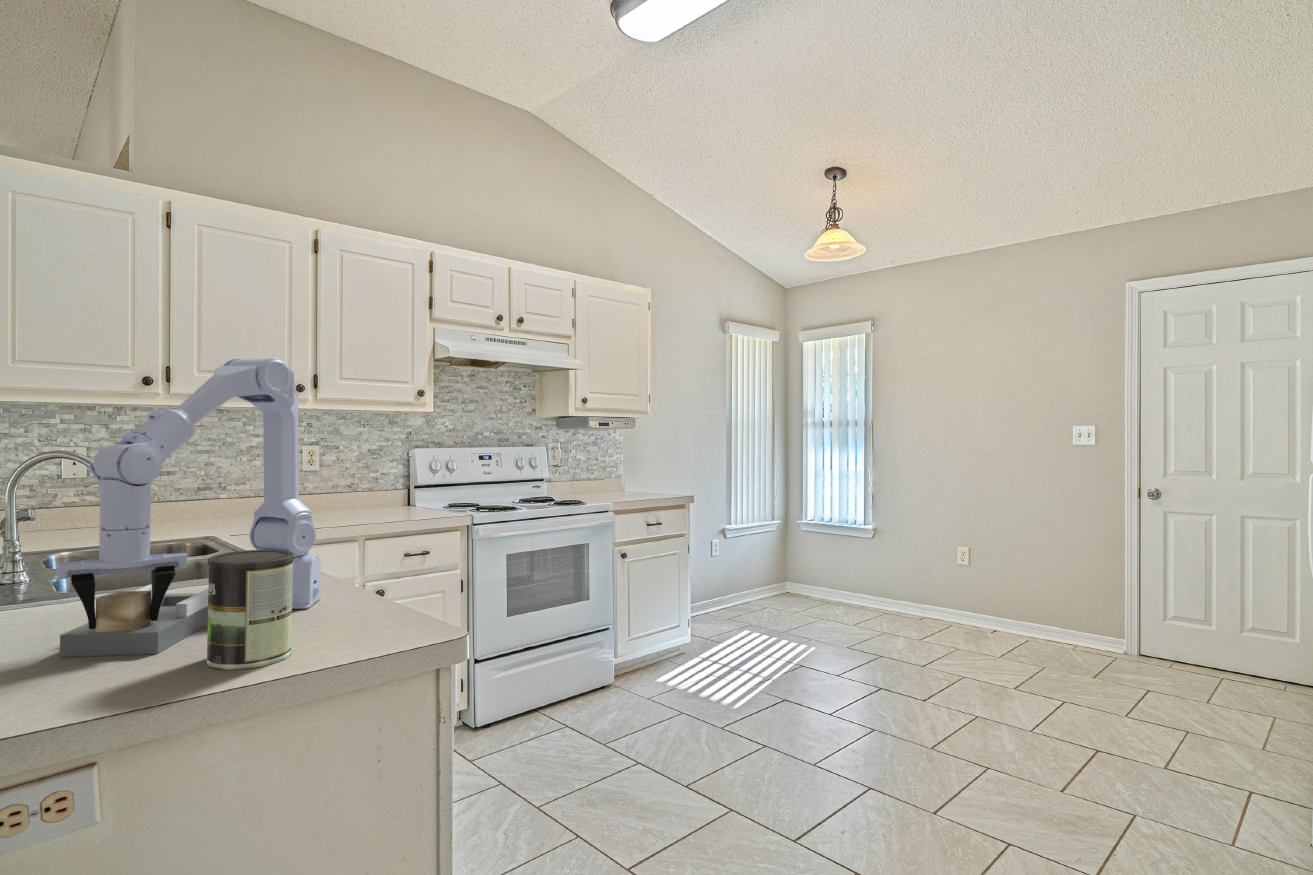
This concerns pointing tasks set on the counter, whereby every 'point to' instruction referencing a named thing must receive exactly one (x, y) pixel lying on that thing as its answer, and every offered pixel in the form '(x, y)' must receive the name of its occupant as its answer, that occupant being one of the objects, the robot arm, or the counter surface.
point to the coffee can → (249, 608)
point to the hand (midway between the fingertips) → (123, 623)
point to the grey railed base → (142, 629)
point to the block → (123, 611)
